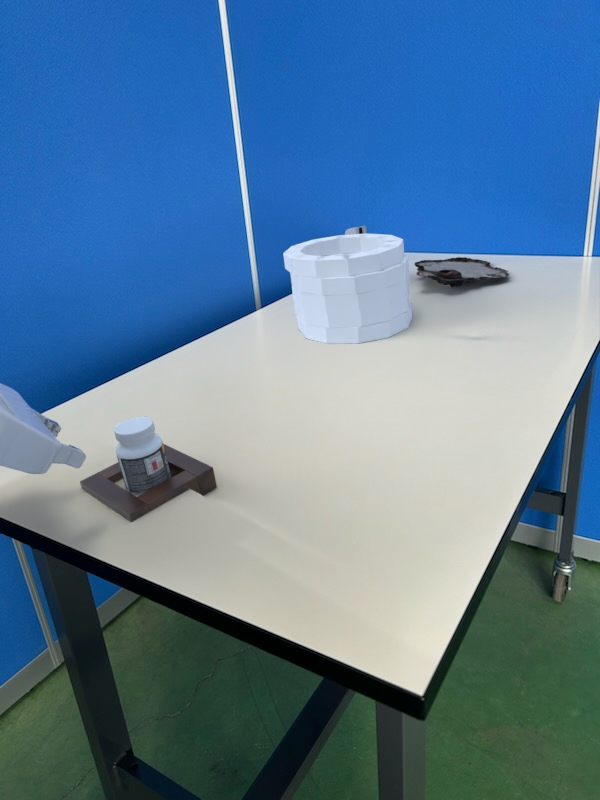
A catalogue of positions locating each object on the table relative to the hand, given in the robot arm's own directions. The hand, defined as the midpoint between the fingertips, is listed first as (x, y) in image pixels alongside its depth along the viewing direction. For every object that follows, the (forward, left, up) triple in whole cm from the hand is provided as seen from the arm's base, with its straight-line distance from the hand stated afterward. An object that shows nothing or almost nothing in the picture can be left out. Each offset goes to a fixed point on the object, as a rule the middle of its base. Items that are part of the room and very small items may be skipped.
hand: (68, 444), depth 71 cm
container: (+70, +19, -11) cm, 74 cm away
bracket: (+93, +35, -11) cm, 100 cm away
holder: (+7, -1, -10) cm, 13 cm away
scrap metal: (+108, +16, -11) cm, 110 cm away
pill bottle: (+8, -1, -11) cm, 13 cm away
